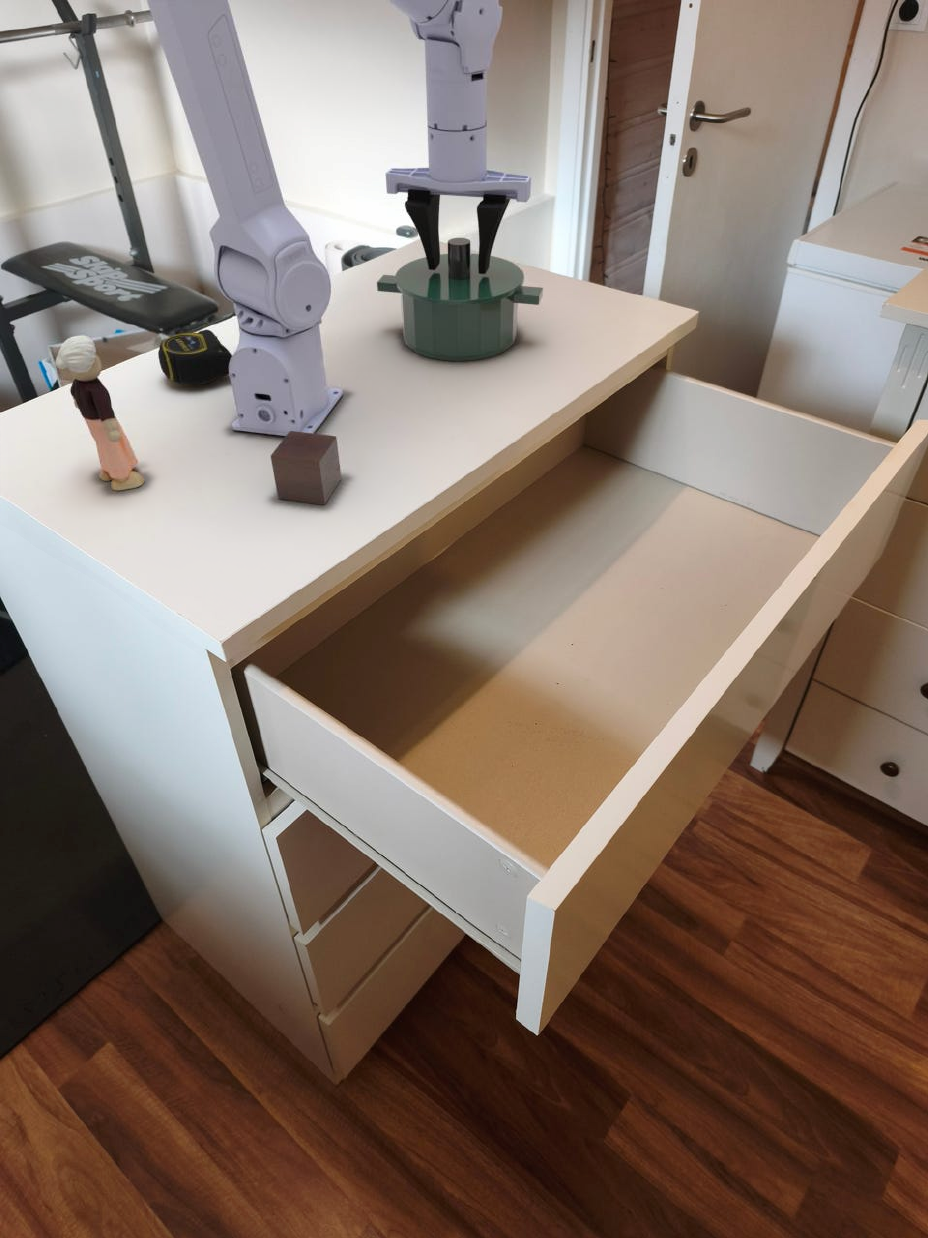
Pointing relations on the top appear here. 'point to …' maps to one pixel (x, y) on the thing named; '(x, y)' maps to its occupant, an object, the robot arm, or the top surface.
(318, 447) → the block
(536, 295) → the pot
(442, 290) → the pot lid
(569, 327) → the top surface
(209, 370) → the tape measure
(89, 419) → the grandmother figurine
